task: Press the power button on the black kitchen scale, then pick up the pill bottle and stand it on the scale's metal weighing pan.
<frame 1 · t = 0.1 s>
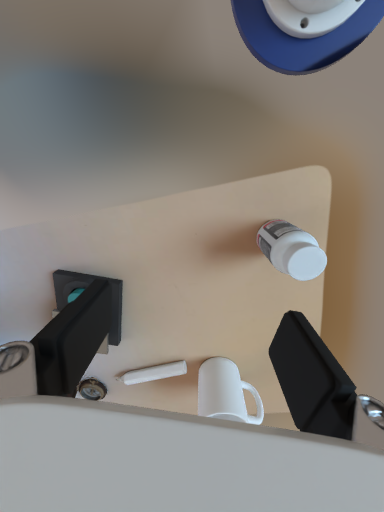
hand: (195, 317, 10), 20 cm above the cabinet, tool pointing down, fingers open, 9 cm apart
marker: (150, 368, 42), on the cabinet
scale: (92, 307, 36), on the cabinet
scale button: (79, 298, 31), point 3 cm above the cabinet, slide at 0.1 cm
compass: (91, 383, 45), on the cabinet
cup: (226, 370, 41), on the cabinet
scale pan: (81, 332, 33), point 4 cm above the cabinet, slide at 0.0 cm
pill bottle: (273, 236, 29), on the cabinet
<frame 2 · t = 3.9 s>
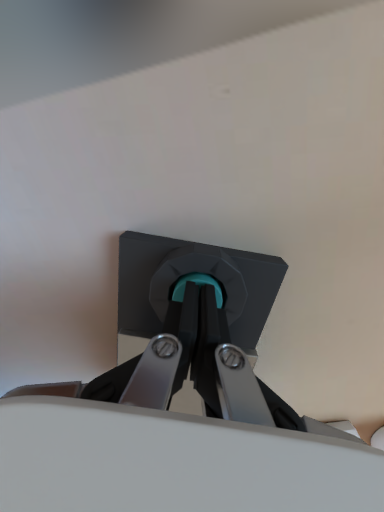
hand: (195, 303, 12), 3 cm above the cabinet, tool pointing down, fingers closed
scale: (188, 320, 16), on the cabinet
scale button: (197, 294, 12), point 3 cm above the cabinet, slide at -0.7 cm, touching gripper
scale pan: (180, 382, 14), point 4 cm above the cabinet, slide at 0.0 cm
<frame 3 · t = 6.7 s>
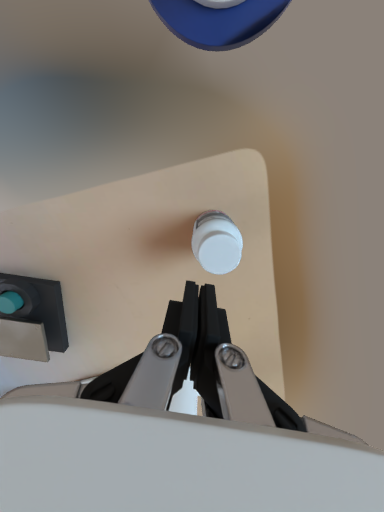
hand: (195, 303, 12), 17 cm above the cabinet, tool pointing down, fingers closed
scale: (33, 312, 33), on the cabinet
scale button: (9, 302, 29), point 3 cm above the cabinet, slide at 0.1 cm
cup: (185, 376, 38), on the cabinet
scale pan: (17, 339, 31), point 4 cm above the cabinet, slide at 0.0 cm
pill bottle: (213, 228, 27), on the cabinet
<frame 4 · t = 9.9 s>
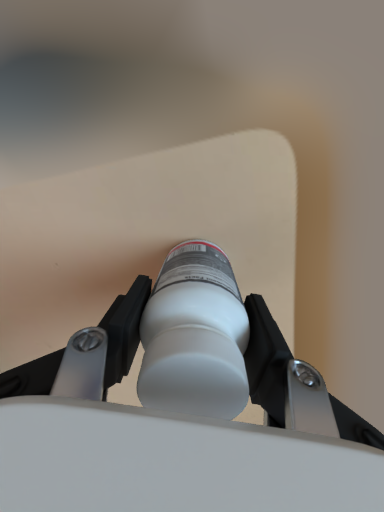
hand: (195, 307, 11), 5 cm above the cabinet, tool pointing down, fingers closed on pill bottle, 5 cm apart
pill bottle: (197, 268, 16), on the cabinet, touching gripper
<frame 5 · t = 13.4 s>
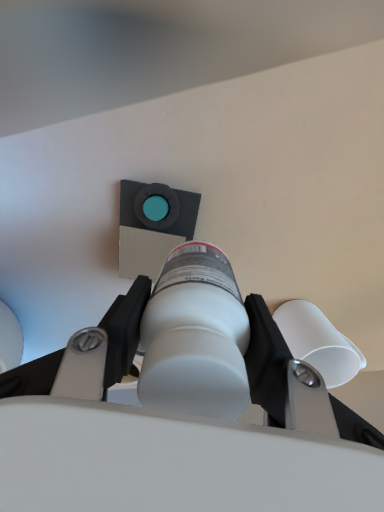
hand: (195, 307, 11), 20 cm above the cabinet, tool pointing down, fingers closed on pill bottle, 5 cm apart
scale: (157, 233, 30), on the cabinet
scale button: (156, 208, 25), point 3 cm above the cabinet, slide at 0.1 cm
cup: (303, 318, 35), on the cabinet
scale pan: (150, 257, 28), point 4 cm above the cabinet, slide at 0.0 cm
pill bottle: (197, 268, 16), point 15 cm above the cabinet, touching gripper
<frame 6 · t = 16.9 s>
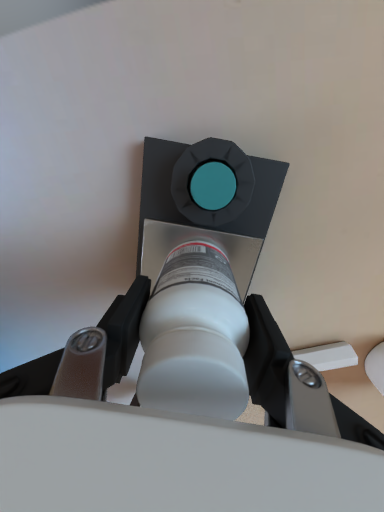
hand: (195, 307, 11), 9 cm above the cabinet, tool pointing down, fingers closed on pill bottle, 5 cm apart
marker: (274, 356, 24), on the cabinet
scale: (200, 234, 18), on the cabinet
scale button: (212, 186, 14), point 3 cm above the cabinet, slide at 0.1 cm
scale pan: (195, 274, 16), point 3 cm above the cabinet, slide at -0.2 cm, touching pill bottle
pill bottle: (197, 269, 16), point 4 cm above the cabinet, touching gripper, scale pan
when the fingers open (9 cm above the cabinet, at t = 16.9 s): pill bottle stays where it is, resting on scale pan.
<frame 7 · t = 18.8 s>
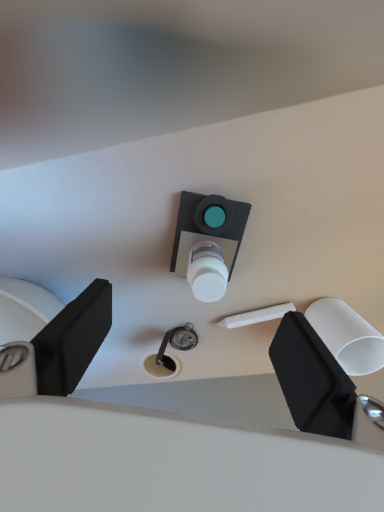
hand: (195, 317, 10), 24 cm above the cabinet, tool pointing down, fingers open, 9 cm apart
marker: (250, 313, 40), on the cabinet
bowl: (38, 311, 42), on the cabinet
scale: (207, 238, 34), on the cabinet
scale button: (214, 216, 29), point 3 cm above the cabinet, slide at 0.1 cm
compass: (181, 332, 42), on the cabinet
cup: (332, 314, 39), on the cabinet
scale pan: (204, 258, 32), point 3 cm above the cabinet, slide at -0.3 cm, touching pill bottle
pill bottle: (205, 255, 31), point 3 cm above the cabinet, touching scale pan
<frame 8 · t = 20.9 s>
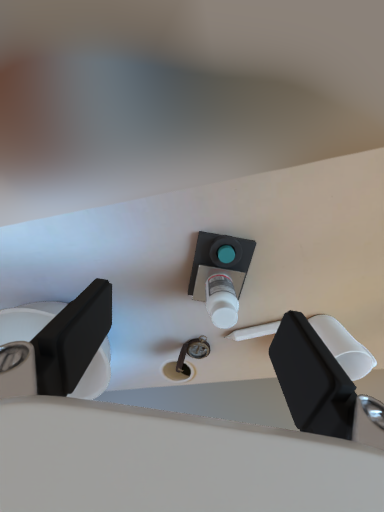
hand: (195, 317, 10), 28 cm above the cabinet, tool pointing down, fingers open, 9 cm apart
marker: (255, 327, 46), on the cabinet
bowl: (74, 326, 49), on the cabinet
scale: (219, 267, 41), on the cabinet
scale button: (226, 254, 36), point 3 cm above the cabinet, slide at 0.1 cm
compass: (196, 343, 49), on the cabinet
cup: (325, 328, 46), on the cabinet
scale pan: (217, 286, 38), point 3 cm above the cabinet, slide at -0.3 cm, touching pill bottle
pill bottle: (218, 284, 38), point 3 cm above the cabinet, touching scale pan
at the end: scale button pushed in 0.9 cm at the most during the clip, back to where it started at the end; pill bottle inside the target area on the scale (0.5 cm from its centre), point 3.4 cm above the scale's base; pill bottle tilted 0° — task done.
